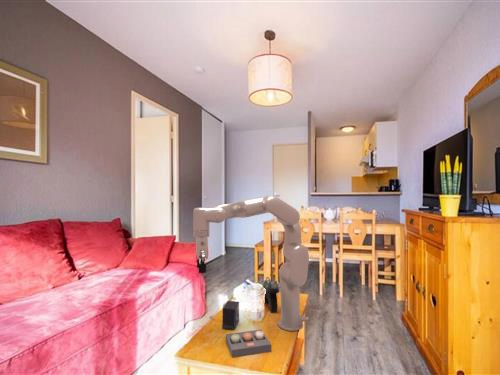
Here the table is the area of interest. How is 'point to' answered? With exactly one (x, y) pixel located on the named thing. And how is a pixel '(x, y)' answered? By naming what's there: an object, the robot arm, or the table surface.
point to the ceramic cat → (271, 294)
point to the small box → (230, 315)
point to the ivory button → (259, 335)
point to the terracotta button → (247, 337)
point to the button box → (248, 345)
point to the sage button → (235, 338)
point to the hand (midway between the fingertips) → (201, 270)
